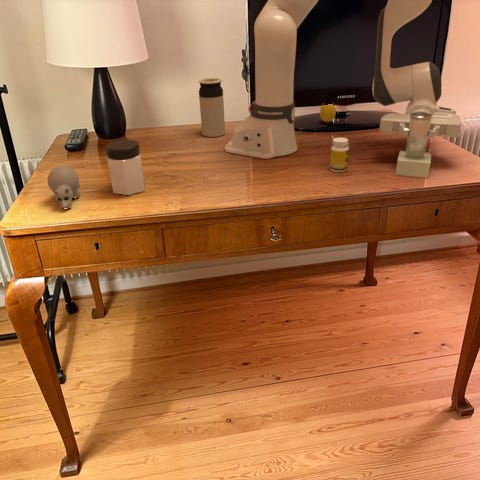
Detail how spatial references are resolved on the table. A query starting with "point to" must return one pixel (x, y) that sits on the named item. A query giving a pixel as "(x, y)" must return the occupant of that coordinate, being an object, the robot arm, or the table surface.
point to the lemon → (327, 112)
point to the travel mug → (211, 107)
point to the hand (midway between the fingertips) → (418, 133)
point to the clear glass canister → (418, 134)
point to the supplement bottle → (339, 155)
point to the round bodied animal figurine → (64, 185)
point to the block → (413, 165)
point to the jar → (125, 167)
